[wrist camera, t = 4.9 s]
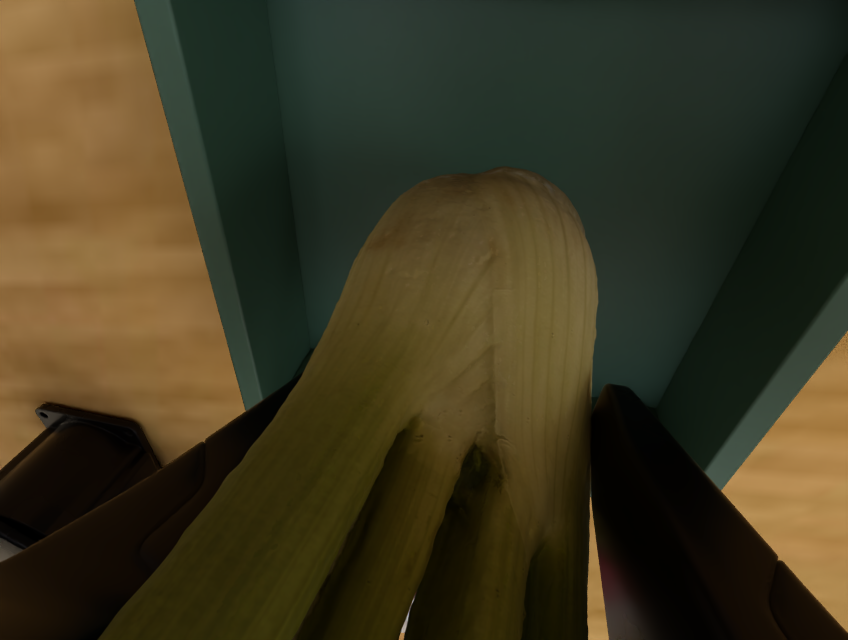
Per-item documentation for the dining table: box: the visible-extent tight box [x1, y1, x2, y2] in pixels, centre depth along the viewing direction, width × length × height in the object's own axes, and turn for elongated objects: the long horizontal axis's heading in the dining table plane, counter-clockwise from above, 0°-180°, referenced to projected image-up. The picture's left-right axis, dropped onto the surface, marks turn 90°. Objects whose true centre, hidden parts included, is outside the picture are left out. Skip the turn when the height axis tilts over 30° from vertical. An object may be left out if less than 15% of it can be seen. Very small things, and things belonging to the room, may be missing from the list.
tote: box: [134, 0, 848, 497], centre depth 13 cm, size 16×15×4 cm
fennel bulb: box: [98, 166, 598, 640], centre depth 8 cm, size 6×5×12 cm
